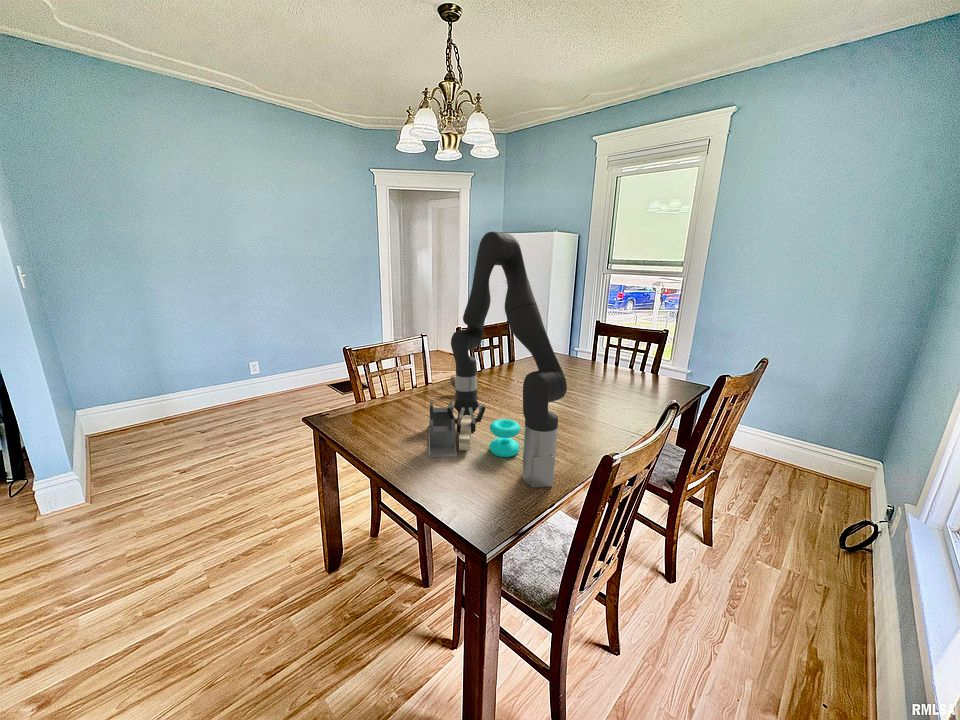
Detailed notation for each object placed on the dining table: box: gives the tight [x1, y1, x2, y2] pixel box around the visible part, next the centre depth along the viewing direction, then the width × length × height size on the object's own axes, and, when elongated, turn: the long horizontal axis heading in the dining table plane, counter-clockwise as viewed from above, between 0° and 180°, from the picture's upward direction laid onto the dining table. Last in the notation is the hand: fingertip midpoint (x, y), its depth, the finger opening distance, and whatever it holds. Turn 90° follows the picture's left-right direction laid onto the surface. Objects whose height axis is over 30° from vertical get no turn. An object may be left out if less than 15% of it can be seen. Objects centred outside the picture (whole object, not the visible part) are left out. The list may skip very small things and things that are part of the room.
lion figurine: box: [448, 375, 480, 399], centre depth 176 cm, size 15×5×9 cm, turn 66°
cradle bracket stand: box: [428, 400, 458, 458], centre depth 134 cm, size 24×9×10 cm, turn 7°
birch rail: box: [458, 415, 472, 451], centre depth 135 cm, size 22×4×4 cm, turn 179°
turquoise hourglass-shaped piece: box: [488, 418, 521, 458], centre depth 127 cm, size 10×10×10 cm
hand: (466, 432), depth 135 cm, fingers closed on birch rail, 4 cm apart
